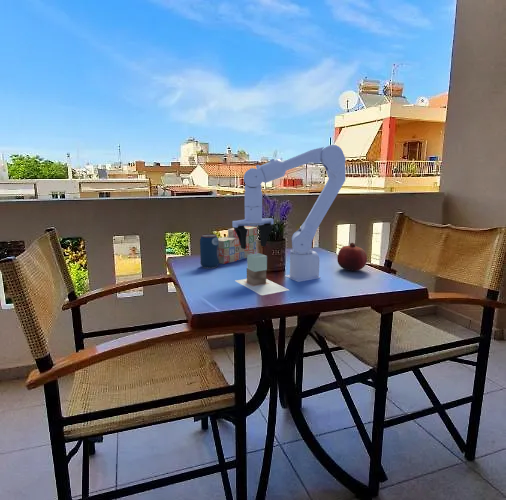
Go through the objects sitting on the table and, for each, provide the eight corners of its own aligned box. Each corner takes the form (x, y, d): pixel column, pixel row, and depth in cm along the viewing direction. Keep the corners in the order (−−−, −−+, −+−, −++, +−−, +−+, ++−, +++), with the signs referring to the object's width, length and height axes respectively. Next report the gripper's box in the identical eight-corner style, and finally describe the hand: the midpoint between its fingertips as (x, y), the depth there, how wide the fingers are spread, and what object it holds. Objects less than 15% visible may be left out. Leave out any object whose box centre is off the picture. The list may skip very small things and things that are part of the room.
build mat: (260, 277, 126) (260, 276, 126) (290, 291, 112) (290, 289, 112) (234, 281, 121) (234, 280, 121) (261, 296, 107) (261, 295, 107)
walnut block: (258, 279, 122) (258, 266, 121) (266, 283, 118) (266, 269, 117) (246, 281, 120) (246, 268, 119) (253, 285, 116) (253, 271, 115)
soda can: (222, 267, 140) (221, 235, 137) (206, 269, 136) (205, 237, 134) (213, 263, 146) (212, 233, 143) (197, 265, 142) (196, 234, 139)
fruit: (331, 267, 138) (332, 241, 136) (354, 265, 141) (356, 239, 139) (347, 275, 128) (348, 247, 126) (371, 273, 131) (373, 245, 129)
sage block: (259, 266, 121) (259, 253, 120) (266, 269, 117) (266, 255, 116) (247, 268, 118) (247, 254, 117) (254, 271, 115) (254, 257, 114)
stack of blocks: (224, 264, 144) (223, 233, 142) (212, 262, 148) (211, 231, 145) (258, 255, 160) (258, 226, 158) (247, 253, 164) (246, 225, 162)
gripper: (265, 204, 128) (265, 243, 131) (227, 206, 121) (228, 247, 124) (277, 206, 122) (276, 246, 125) (237, 208, 115) (238, 251, 118)
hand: (253, 247), depth 124 cm, fingers open, 7 cm apart
